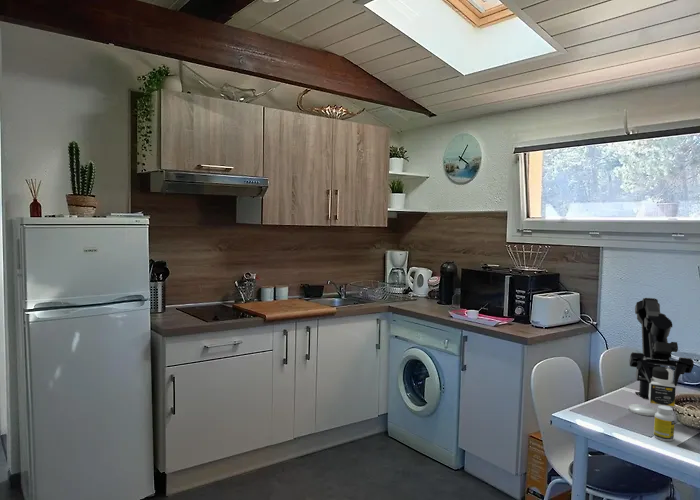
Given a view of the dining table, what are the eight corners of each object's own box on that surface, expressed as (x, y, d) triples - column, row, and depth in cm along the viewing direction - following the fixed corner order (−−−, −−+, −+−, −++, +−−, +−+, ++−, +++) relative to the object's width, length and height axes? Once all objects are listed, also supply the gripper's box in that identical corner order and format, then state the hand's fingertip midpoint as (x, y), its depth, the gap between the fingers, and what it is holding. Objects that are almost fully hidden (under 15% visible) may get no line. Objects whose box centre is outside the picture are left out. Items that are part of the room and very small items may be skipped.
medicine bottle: (649, 403, 172) (651, 368, 171) (648, 397, 178) (650, 364, 178) (674, 407, 168) (676, 372, 168) (672, 401, 175) (674, 366, 174)
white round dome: (623, 406, 187) (623, 403, 187) (648, 407, 187) (648, 404, 187) (636, 415, 178) (636, 412, 178) (662, 416, 178) (662, 413, 178)
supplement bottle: (673, 443, 155) (675, 411, 155) (653, 439, 158) (654, 408, 158) (673, 437, 160) (675, 406, 159) (653, 433, 163) (655, 403, 162)
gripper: (631, 329, 180) (634, 368, 170) (694, 335, 173) (700, 375, 163) (628, 347, 187) (630, 384, 178) (687, 352, 180) (693, 392, 170)
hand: (662, 384), depth 172 cm, fingers closed on medicine bottle, 7 cm apart
